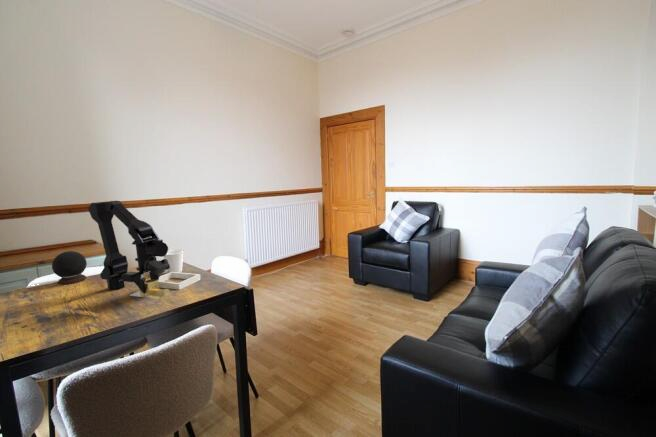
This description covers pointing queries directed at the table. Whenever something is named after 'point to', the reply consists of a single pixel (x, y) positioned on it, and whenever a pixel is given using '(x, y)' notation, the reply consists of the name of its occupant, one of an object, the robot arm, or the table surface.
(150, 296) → the stud plate
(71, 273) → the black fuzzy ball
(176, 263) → the cup
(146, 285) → the strut
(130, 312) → the table surface
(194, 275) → the bin
